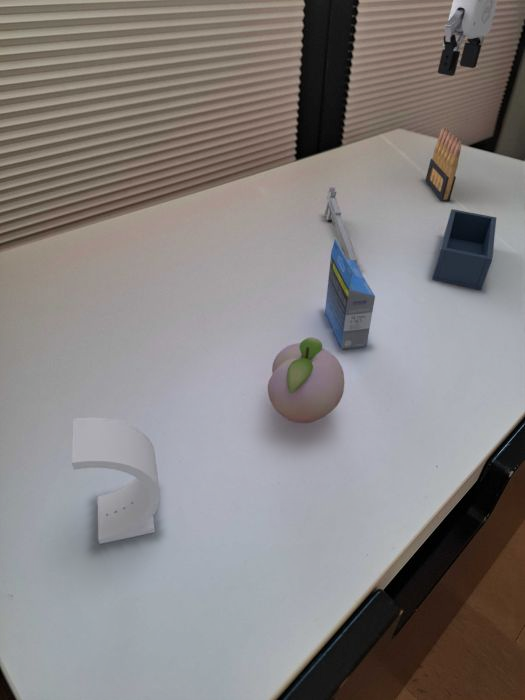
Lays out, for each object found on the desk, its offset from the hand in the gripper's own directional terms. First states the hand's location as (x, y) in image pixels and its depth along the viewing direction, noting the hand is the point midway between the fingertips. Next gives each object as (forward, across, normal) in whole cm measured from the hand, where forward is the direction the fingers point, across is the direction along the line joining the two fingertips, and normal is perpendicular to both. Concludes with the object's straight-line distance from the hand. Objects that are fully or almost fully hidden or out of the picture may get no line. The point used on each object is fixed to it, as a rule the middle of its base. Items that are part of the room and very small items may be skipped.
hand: (456, 70), depth 98 cm
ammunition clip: (+22, -3, -3) cm, 23 cm away
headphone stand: (+22, -96, -17) cm, 100 cm away
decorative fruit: (+22, -74, -21) cm, 80 cm away
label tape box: (+22, -58, -16) cm, 64 cm away
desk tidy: (+22, -28, -20) cm, 41 cm away
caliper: (+22, -37, -1) cm, 43 cm away
